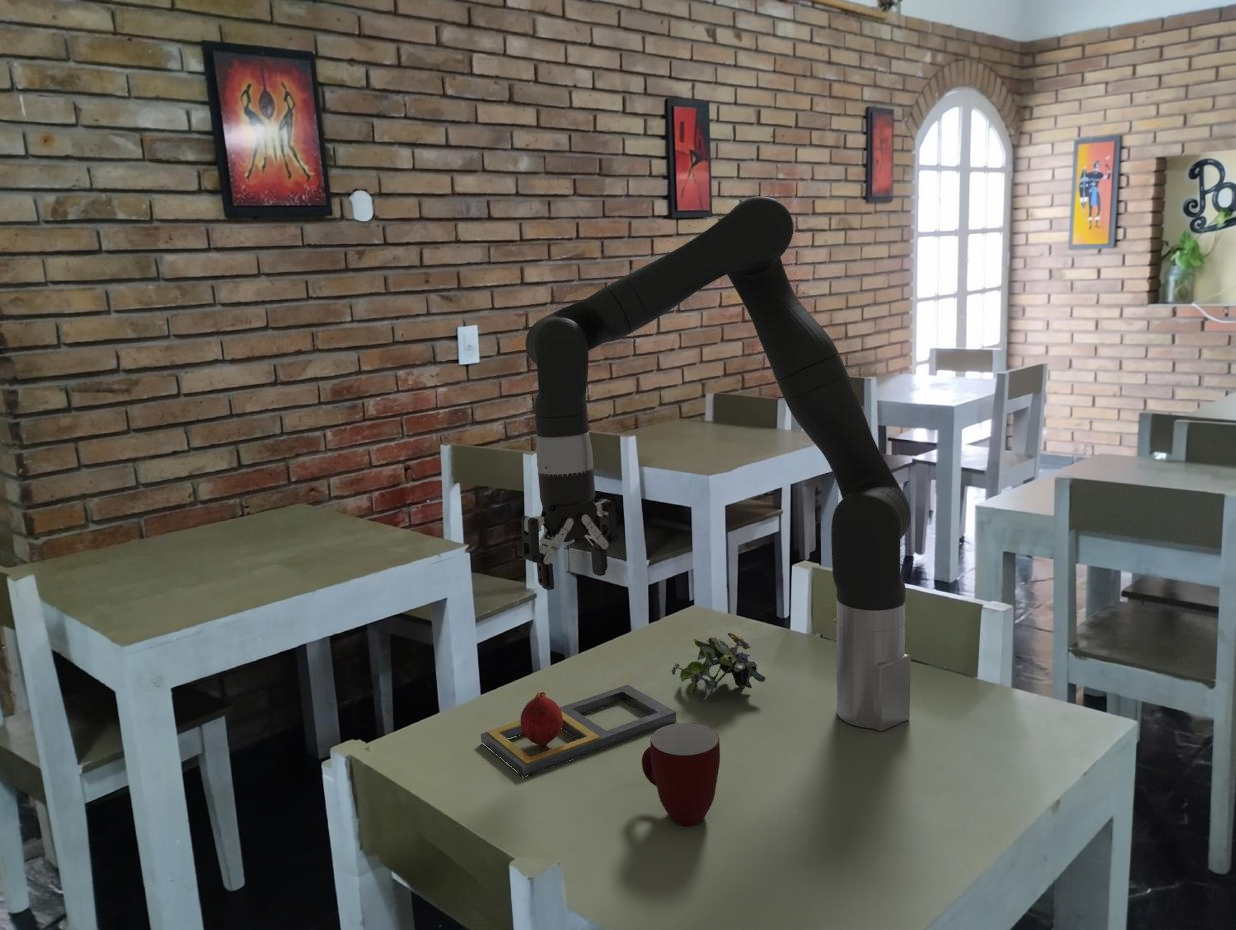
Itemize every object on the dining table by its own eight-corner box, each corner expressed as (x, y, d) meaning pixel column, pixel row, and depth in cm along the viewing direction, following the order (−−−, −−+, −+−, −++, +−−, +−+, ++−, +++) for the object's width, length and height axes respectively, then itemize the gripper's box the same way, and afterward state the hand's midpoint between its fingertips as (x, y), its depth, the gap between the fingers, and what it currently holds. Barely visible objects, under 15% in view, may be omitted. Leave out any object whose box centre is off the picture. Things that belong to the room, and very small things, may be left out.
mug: (622, 817, 114) (619, 739, 112) (659, 786, 121) (656, 712, 119) (699, 843, 108) (697, 762, 106) (733, 809, 115) (732, 732, 113)
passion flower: (739, 720, 149) (783, 668, 144) (696, 733, 141) (740, 679, 136) (696, 665, 155) (736, 613, 150) (652, 675, 147) (693, 621, 142)
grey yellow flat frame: (676, 721, 138) (675, 710, 138) (523, 778, 124) (522, 766, 124) (628, 693, 148) (627, 683, 147) (481, 743, 134) (480, 732, 134)
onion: (558, 757, 129) (555, 702, 128) (517, 755, 130) (513, 700, 129) (568, 736, 135) (565, 683, 133) (528, 734, 136) (525, 681, 134)
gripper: (535, 478, 123) (545, 600, 126) (624, 461, 131) (631, 575, 134) (505, 472, 129) (515, 588, 132) (592, 455, 137) (600, 564, 140)
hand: (574, 581), depth 133 cm, fingers open, 8 cm apart
